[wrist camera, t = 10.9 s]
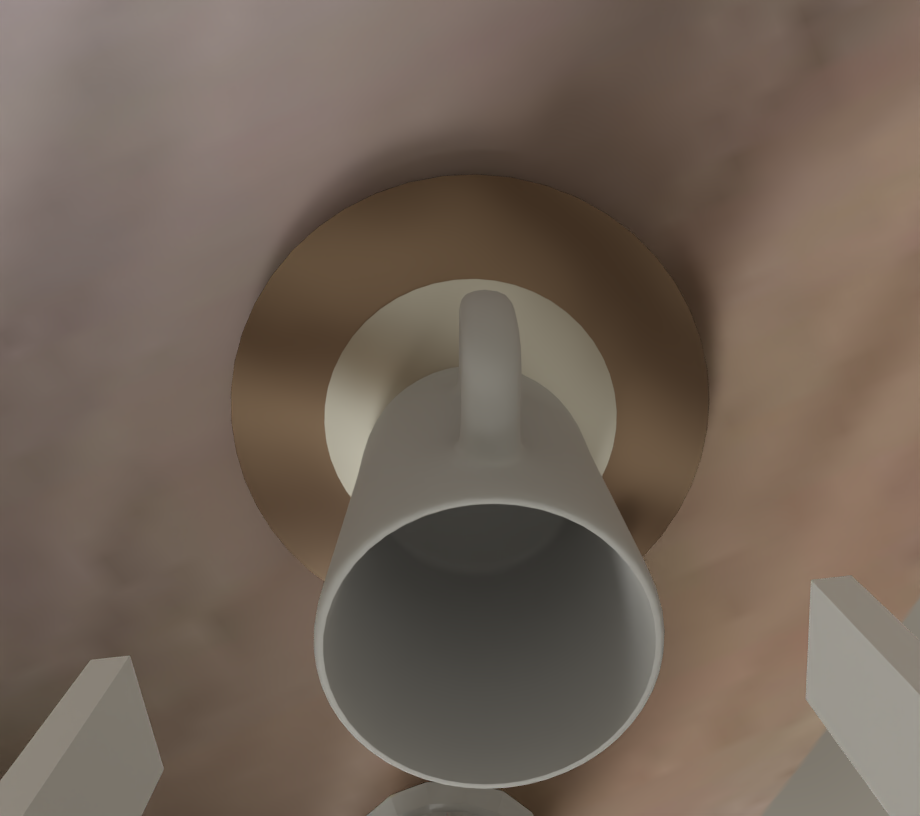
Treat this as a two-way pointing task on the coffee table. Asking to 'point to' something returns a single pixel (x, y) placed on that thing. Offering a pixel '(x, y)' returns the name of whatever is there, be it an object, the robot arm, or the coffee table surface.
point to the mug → (485, 580)
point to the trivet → (437, 345)
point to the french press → (449, 802)
